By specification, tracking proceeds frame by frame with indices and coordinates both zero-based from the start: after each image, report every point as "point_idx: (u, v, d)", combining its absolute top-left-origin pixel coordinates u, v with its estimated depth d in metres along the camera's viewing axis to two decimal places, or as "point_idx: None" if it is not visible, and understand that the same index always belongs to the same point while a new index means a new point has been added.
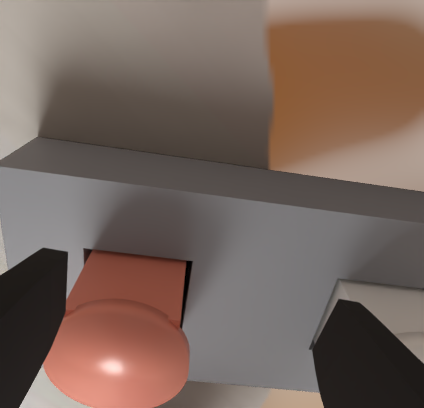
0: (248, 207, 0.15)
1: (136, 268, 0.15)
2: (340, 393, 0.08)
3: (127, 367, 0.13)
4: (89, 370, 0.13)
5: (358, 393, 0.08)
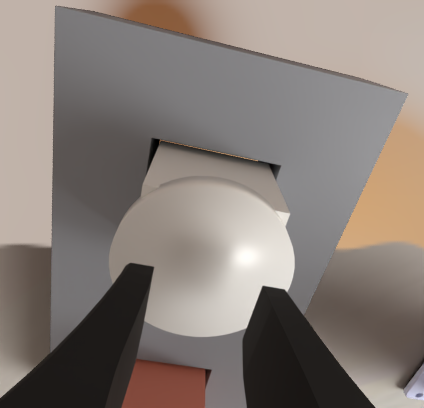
0: (58, 319, 0.17)
1: None
2: (256, 381, 0.08)
3: None
4: None
5: (268, 380, 0.07)
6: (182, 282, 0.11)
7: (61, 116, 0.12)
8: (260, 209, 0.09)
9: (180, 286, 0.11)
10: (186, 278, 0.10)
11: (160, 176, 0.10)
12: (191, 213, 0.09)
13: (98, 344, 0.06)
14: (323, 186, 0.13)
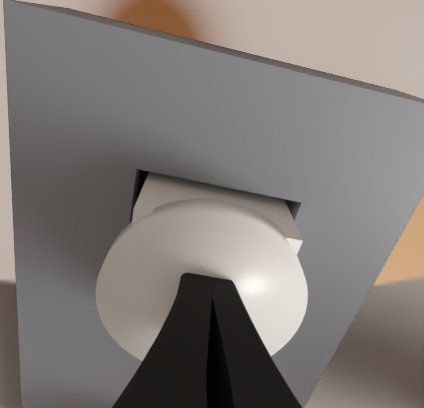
0: (29, 377, 0.14)
1: None
2: None
3: None
4: None
5: None
6: None
7: (19, 143, 0.09)
8: (269, 238, 0.08)
9: None
10: None
11: (155, 198, 0.09)
12: (188, 242, 0.08)
13: (183, 356, 0.06)
14: (353, 227, 0.11)
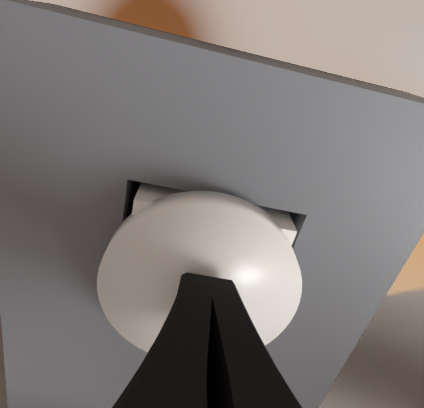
0: (16, 397, 0.13)
1: None
2: None
3: None
4: None
5: None
6: None
7: None
8: (264, 228, 0.08)
9: None
10: None
11: (154, 190, 0.09)
12: (186, 233, 0.08)
13: (183, 357, 0.06)
14: (362, 241, 0.10)
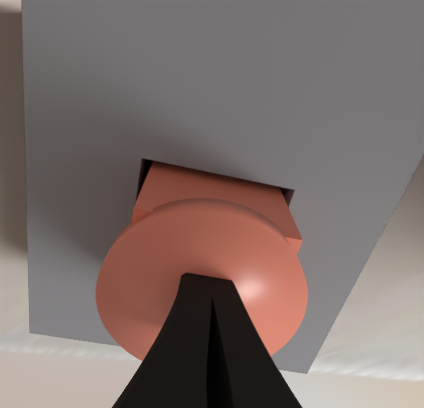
0: (37, 66, 0.09)
1: None
2: None
3: None
4: None
5: None
6: None
7: None
8: None
9: None
10: None
11: None
12: None
13: (183, 356, 0.06)
14: None
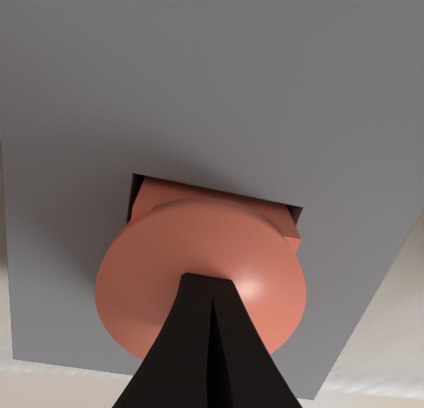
0: (12, 71, 0.08)
1: None
2: None
3: None
4: None
5: None
6: None
7: None
8: None
9: None
10: None
11: None
12: None
13: (183, 356, 0.06)
14: None
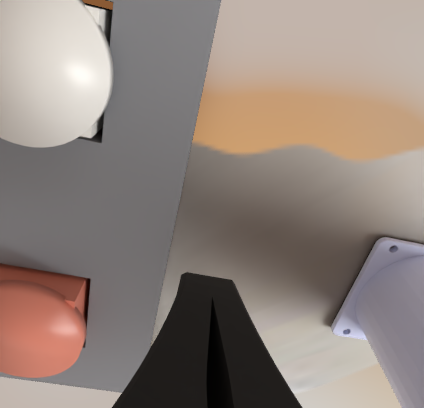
0: None
1: None
2: None
3: (16, 331, 0.16)
4: (27, 354, 0.16)
5: None
6: (6, 79, 0.11)
7: None
8: None
9: (6, 84, 0.12)
10: (9, 74, 0.11)
11: None
12: None
13: (183, 356, 0.06)
14: (167, 31, 0.12)
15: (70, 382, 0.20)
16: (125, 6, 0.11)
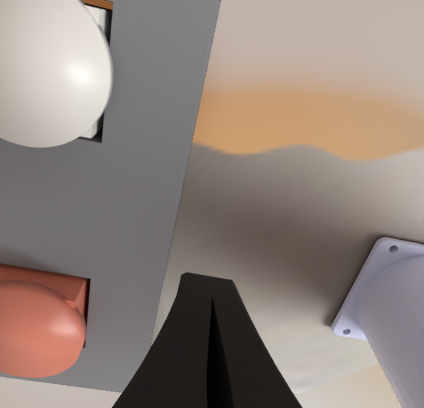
0: None
1: None
2: None
3: (16, 331, 0.16)
4: (27, 354, 0.16)
5: None
6: (6, 79, 0.11)
7: None
8: None
9: (6, 84, 0.12)
10: (9, 74, 0.11)
11: None
12: None
13: (183, 356, 0.06)
14: (167, 31, 0.12)
15: (70, 382, 0.20)
16: (125, 6, 0.11)
